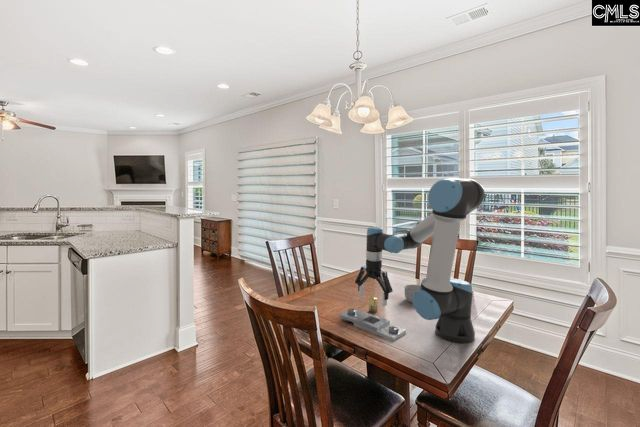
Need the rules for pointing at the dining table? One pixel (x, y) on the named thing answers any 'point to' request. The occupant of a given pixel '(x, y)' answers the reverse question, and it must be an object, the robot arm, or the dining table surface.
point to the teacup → (411, 291)
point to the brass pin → (373, 305)
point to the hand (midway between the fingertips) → (372, 301)
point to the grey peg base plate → (378, 326)
